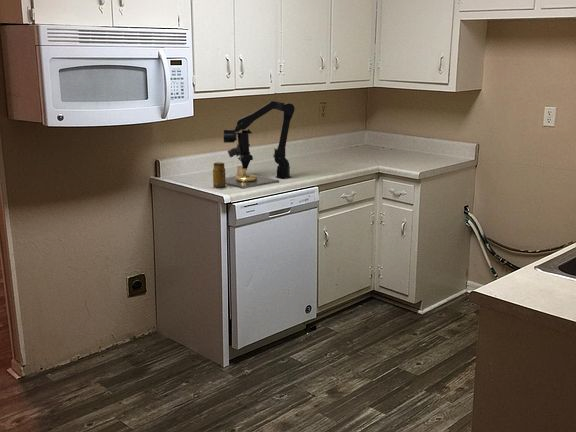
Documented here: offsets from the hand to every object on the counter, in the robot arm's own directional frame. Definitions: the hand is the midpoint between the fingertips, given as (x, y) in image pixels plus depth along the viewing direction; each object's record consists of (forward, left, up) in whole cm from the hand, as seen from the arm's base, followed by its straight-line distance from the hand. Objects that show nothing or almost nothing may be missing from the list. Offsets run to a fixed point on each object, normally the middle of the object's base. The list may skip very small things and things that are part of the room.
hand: (244, 171), depth 337 cm
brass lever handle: (+6, +6, -2) cm, 9 cm away
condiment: (+24, +11, -4) cm, 27 cm away
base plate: (+6, +9, -4) cm, 11 cm away
